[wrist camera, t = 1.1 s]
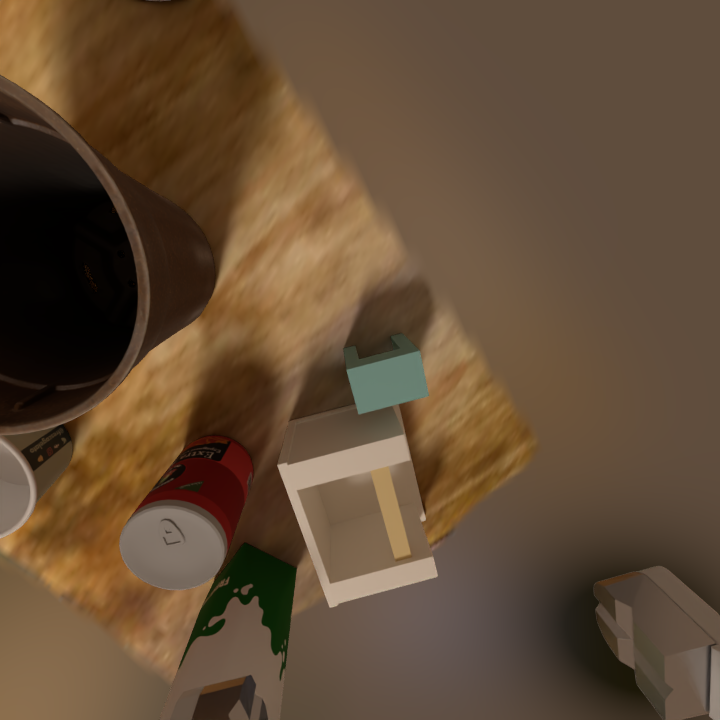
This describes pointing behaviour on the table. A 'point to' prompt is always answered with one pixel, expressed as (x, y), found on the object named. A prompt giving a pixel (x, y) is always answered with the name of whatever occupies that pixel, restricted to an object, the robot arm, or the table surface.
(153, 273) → the plant pot
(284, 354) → the table surface
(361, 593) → the shelf
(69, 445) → the food container
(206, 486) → the canned food
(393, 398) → the green slotted block
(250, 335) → the table surface
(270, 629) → the milk carton
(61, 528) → the table surface
